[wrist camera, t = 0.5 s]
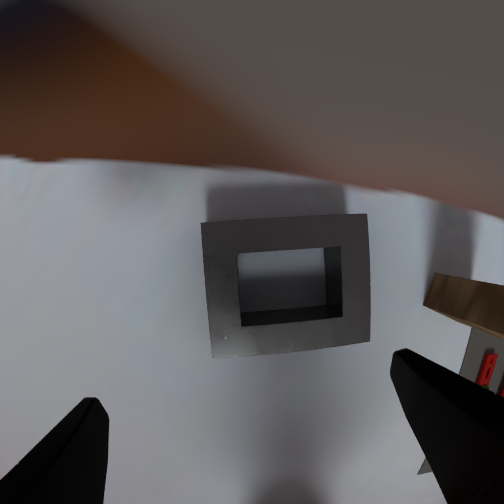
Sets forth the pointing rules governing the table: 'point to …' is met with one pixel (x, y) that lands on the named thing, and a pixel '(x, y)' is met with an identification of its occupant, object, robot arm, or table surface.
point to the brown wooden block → (468, 302)
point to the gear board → (481, 367)
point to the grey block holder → (295, 319)
